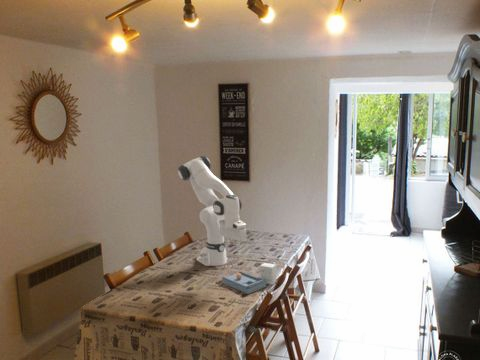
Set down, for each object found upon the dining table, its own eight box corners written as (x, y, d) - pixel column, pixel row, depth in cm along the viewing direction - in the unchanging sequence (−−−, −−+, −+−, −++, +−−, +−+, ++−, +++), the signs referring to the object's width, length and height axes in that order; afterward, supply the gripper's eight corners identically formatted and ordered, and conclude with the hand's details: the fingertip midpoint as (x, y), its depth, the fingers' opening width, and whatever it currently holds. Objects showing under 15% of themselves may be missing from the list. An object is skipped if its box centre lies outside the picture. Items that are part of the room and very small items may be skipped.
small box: (276, 281, 247) (276, 264, 245) (272, 285, 242) (272, 267, 241) (264, 279, 251) (264, 262, 250) (260, 282, 246) (260, 265, 245)
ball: (235, 278, 246) (235, 273, 246) (239, 277, 248) (239, 272, 248) (238, 280, 244) (238, 275, 243) (243, 278, 246) (242, 273, 245)
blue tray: (222, 282, 247) (222, 275, 246) (240, 276, 256) (239, 269, 255) (248, 293, 231) (248, 286, 230) (266, 286, 240) (265, 279, 239)
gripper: (216, 220, 250) (217, 243, 252) (239, 226, 235) (240, 250, 237) (224, 219, 255) (225, 241, 257) (248, 224, 240) (248, 248, 241)
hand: (232, 245), depth 247 cm, fingers open, 7 cm apart
